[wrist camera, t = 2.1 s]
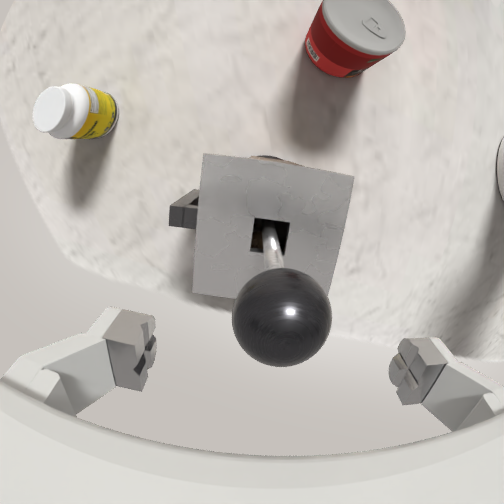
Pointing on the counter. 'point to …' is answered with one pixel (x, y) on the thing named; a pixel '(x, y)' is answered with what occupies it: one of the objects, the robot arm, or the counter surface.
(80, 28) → the counter surface
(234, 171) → the cafetiere
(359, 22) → the canned food
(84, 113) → the pill bottle
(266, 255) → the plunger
